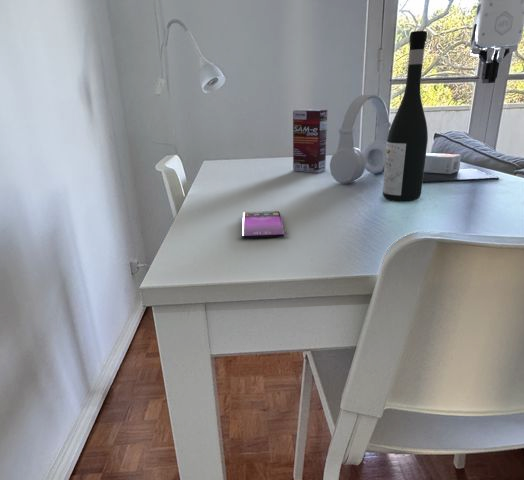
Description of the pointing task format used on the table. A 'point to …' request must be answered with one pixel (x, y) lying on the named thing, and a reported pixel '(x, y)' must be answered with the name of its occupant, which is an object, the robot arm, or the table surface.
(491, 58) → the robot arm
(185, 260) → the table surface
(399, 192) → the wine bottle
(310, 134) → the supplement box
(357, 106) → the headphones
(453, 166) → the cosmetic box
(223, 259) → the table surface
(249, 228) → the smartphone
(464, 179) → the mat
